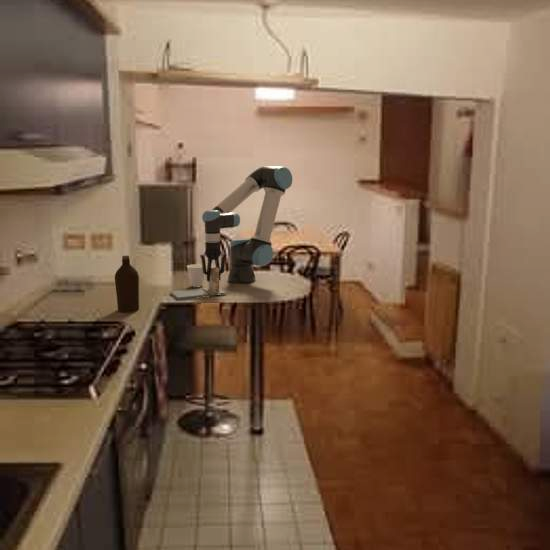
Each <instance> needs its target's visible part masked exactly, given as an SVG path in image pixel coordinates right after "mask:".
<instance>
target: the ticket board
mask: <svg viewBox="0 0 550 550" xmlns="http://www.w3.org/2000/svg"><path fill="white" fill-rule="evenodd" d="M169 293H171V294H172V295H173V296H174V297H175V299H176V300H177V301H185V300H194V298H195V299H198V298H197V297H203V296H209V294H208V293H207V292H205V291H204V290H203V289H202V287H198V288H190V289H189V288H188V289H180V290H171V291H170V292H169ZM171 294H170V295H171ZM172 295H171V296H172ZM173 296H172V297H173ZM174 297H173V298H174ZM209 297H210V296H209Z"/></svg>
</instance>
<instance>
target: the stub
mask: <svg viewBox="0 0 550 550" xmlns="http://www.w3.org/2000/svg"><path fill="white" fill-rule="evenodd" d="M210 275H212V288H209V287H201V289H203V290H204V291H205V292H207V293H208V294H209V295H218V294H226V295H227V292H225V290H223V289H222V288H220V281H219V268H217V267H216V265H211V271H210Z"/></svg>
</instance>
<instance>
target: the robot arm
mask: <svg viewBox="0 0 550 550" xmlns="http://www.w3.org/2000/svg"><path fill="white" fill-rule="evenodd" d="M292 184H293V175H292V172H291V170H290V169H289V168H287V167H285V166H281V165H278V166H277V165H264V166H261V167H258V168H257V169H256V170H254V171H253V172H251V173H250V174H249V175H248V176H247V177H246V178H245V179H244V182H242V183H241V184H240V185H238V187H237V188H235V189H234V190H233V191H232V192H231V193H229V194H228V195H227V196H226V197H225V198H224V199H223V200H222V201H220V202H219V203H218V204H217V205H216V206H215V207H213V208H212V209H208V210H205V211H204V212H203V213H202V218H201V219H202V221H203V224H204V236H205V237H204V241H205V243H204V244H205V248H204V249H205V251H204V253H203V254H200V255H199V257H200V260H201V265H202V269H203V273H204V276H205V275H206V282H208V288H212V275H210V271H211V266H212V263H213V261H214V263H215V266H216V267H217V268H219V282H220V281H221V275H222V274H224V273H225V263H226V257H227V254H226V253H224V252H222V250H221V229H229V228H232V229H233V228H236V227H238V226H240V223H241V217H240V215H239V213H237V212H233V211H234V210H235V209H237V208H238V207H239V206H240V205H241V204H243V202H244V201H246V199H248V198H249V197H250V196H251V195H252V194H253V193H256V192H259V191H260V190H261V189H263V190H264V192H265V193H264V197H263V201H262V205H261V209H260V213H259V216H258V221H257V224H256V228H255V232H254V235H253V236H251V237H250V238H239V239H233V240H231V241H230V247H229V248H230V249H229V250H230V269H229V272H228V275H227V281H228V282H229V281H230V283H235V284H247V283H252V282H255V281H256V274H255V272H254V271H255V270H254V268H253V265H254V266H257V267H264V266H267V265H269V264H270V263H271V262H272V260H273V257H274V248H273V247H272V245H273V243H272V241H271V236H272V233H273V229H274V224H275V223H276V222H275V221H276V217H277V214H278V210H279V206H280V201H281V198H282V196H283V195H285V193H286V190H287V189H289V188H290V187H292ZM219 257H220V258H219ZM206 258H207V263H206ZM219 259H220V260H219ZM206 264H207V265H206Z"/></svg>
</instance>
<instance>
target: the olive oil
mask: <svg viewBox="0 0 550 550" xmlns="http://www.w3.org/2000/svg"><path fill="white" fill-rule="evenodd" d="M121 257H122V259H121V263H122V264H121V265H120V267H119V268H118V269H117V270H116V272H115V274H114V283H115V284H114V285H115V294H116V302H117V311H118V312H120V313H134V311H135V312H137V310H138V311H139V310H140V289H139V288H140V284H139V283H140V275H139V272H138V271H137V269H135V267H133V266H132V264H131V259H130V256H129V255H122V256H121Z"/></svg>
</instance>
